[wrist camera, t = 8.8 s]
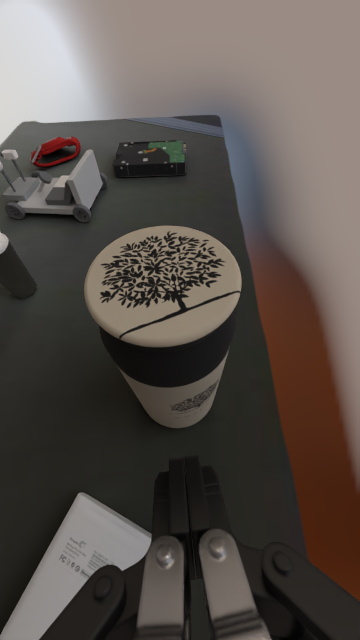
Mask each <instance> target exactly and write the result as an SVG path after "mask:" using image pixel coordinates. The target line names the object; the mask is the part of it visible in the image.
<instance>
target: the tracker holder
mask: <svg viewBox="0 0 360 640" xmlns="http://www.w3.org/2000/svg"><path fill="white" fill-rule="evenodd" d="M73 145H75V146H76V152H75V154H72V155H69V156H67V157H64V158H61V159H58V160H56V161H53V162H50V163H47V164H40V163H38V162H37V161H38V160H39V159H41V157H42V156H44V155H47V154H49V153H52V152H54V151H56V150H58V149H60V148H62V147H65V146H73ZM80 148H81V146H80V143H79V141H78V139H77V138H75V137H66V138H65V139H63V138H61V137H57V138H53V139H50V140H48V141H46V142H45V143H44V144H42V145H41V146H38V147H37V149H36V151H34V152H32V153H31V155H30V158H29V161H30V163H31V164H34V165H35V166H38V167H46V166H52V165H56V164H58V163H61V162H64V161H67V160H69V159H72V158H74V157H76V156H77V155H78V154H79V152H80Z"/></svg>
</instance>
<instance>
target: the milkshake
mask: <svg viewBox="0 0 360 640" xmlns="http://www.w3.org/2000/svg"><path fill="white" fill-rule="evenodd" d="M0 284H1V285H3V286H4V287H5V288H6V289H7V290H8V291H9V292H11V293H12V294H13V295H14V296H15V297H17V298H18V299H23V298H27V297H29V296H32V295H33V294H34V293H35V291H36V290H37V284H36V283H35V281H34V279H33V278H32V276H31V275H30V273H29V272H28V270H27V269H26V267H25V266H24V264H23V263H22V261H21V260H20V258H19V256H18V255H17V253H16V252H15V250H14V248H13V247H12V245H11V243H10V242H9V240H8V238H7V237H6V236H5V235H4V234H2V233H1V231H0Z"/></svg>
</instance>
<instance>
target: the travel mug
mask: <svg viewBox="0 0 360 640" xmlns="http://www.w3.org/2000/svg"><path fill="white" fill-rule="evenodd" d="M240 292H241V273H240V270H239V266H238V264H237V262H236V260H235V258H234V256H233V255H232V254H231V252H230V251H229V250H228V249H227V248H226V247H225V246H224V245H223V244H222V243H221V242H219V241H218V240H216V239H215V238H213V237H212V236H210V235H208V234H205V233H203V232H201V231H198V230H195V229H191V228H186V227H179V226H156V227H149V228H144V229H141V230H137V231H134V232H131V233H129V234H126V235H124V236H122V237H120V238H119V239H117V240H115V241H114V242H112V243H111V244H109V245H108V246H107V247H106V248H105V249H104V250H102V251H101V252H100V254H99V255H98V256H97V257H96V258H95V260H94V261H93V263H92V264H91V266H90V268H89V270H88V273H87V276H86V279H85V285H84V294H85V301H86V304H87V307H88V310H89V311H90V313H91V315H92V317H93V318H94V320H95V321H96V322H97V323H98V324H99V327H100V334H101V338H102V341H103V343H104V346H105V347H106V349H107V351H108V352H109V354H110V356H111V357H112V359H113V360H114V362H115V363H116V365H117V366H118V368H119V370H120V371H121V373H122V374H123V376H124V377H125V379H126V381H127V382H128V384H129V385H130V387H131V388H132V390H133V391H134V393H135V395H136V396H137V398H138V399H139V401H140V402H141V404H142V405H143V407H144V409H145V410H146V412H147V413H148V414H149V416H150V417H151V418H152V419H153V420H155V421H156V422H157V423H159V424H161V425H163V426H166V427H170V428H184V427H188V426H191V425H193V424H195V423H197V422H198V421H200V420H201V419H202V418H203V417H204V416H205V415H206V414H207V413H208V411H209V410H210V408H211V406H212V403H213V400H214V397H215V394H216V390H217V387H218V384H219V380H220V377H221V374H222V371H223V367H224V364H225V361H226V357H227V354H228V351H229V348H230V344H231V341H232V338H233V334H234V331H235V326H236V311H235V306H236V304H237V302H238V299H239V296H240Z"/></svg>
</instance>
